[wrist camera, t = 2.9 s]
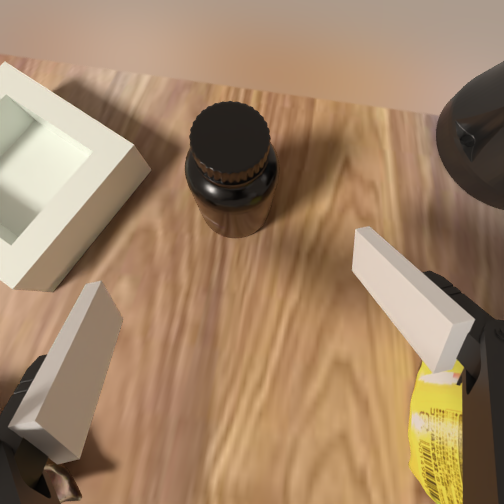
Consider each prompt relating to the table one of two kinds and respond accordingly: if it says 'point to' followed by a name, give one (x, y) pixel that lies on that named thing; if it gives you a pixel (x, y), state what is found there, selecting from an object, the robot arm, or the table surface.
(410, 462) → the bottle
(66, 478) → the ceramic sculpture
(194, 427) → the table surface
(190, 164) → the supplement bottle
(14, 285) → the holder
